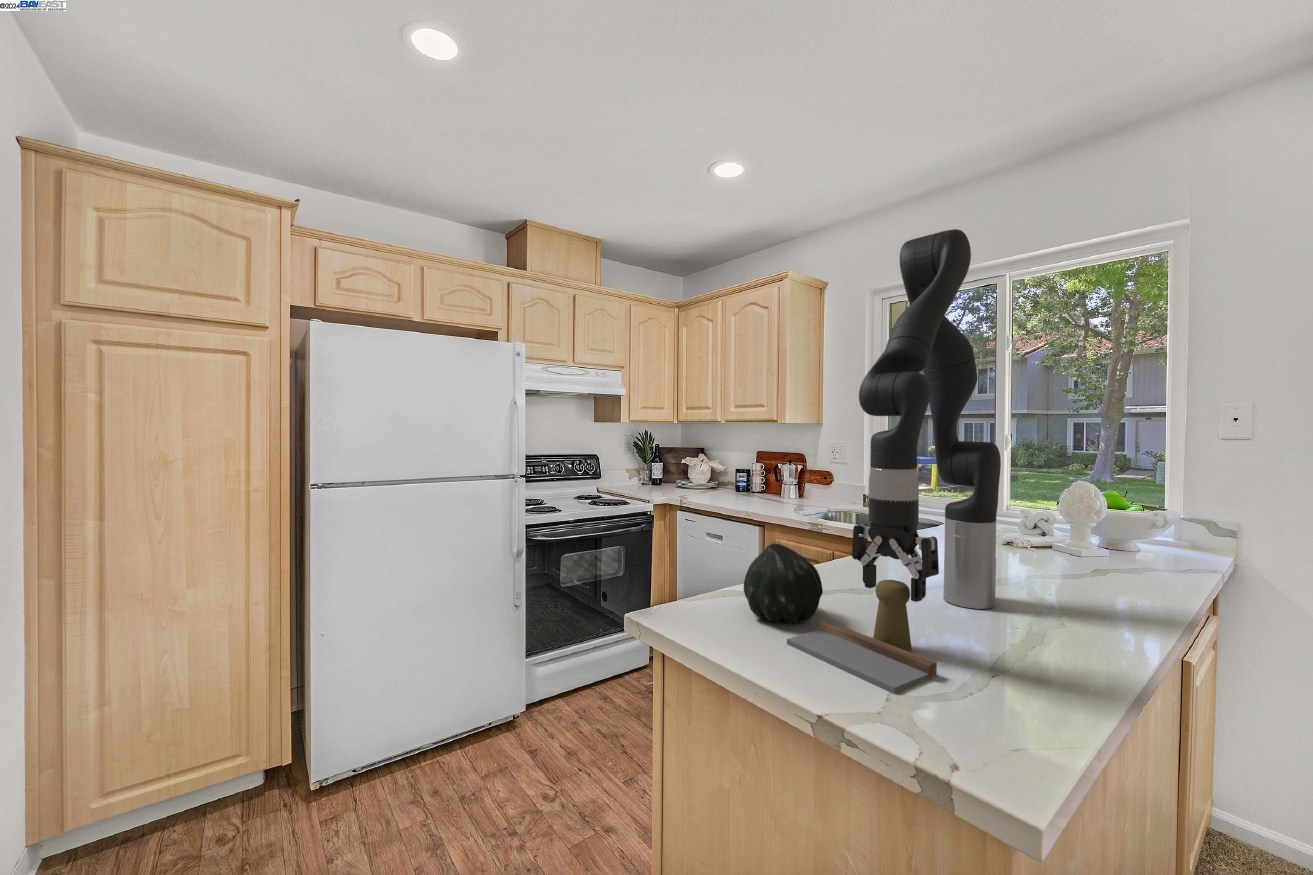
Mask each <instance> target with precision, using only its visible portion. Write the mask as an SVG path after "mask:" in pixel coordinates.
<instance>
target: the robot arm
mask: <svg viewBox="0 0 1313 875" xmlns="http://www.w3.org/2000/svg"><path fill="white" fill-rule="evenodd" d="M971 250H972V249H971V244H970V242H969V239H968V236H967V234H966V233H965V232H964V231H963V230H961V229H955V228H953V229H948V230H943V231H942V230H941V231H938V232H936V233H931V234H928V235H924V236H920V237H916V238H913V239H909V240H906V242H903V244H902V246H901V247H900V250H899V269H900V274H901V279H902V281H903V286H904V290H905V293H906V297H907V301H908V304H909V305H908V307H906V308H905V309H904V310H903V311H902V312H901V313H900V315H899V316H898V318H897V319H896V321H895V322H894V324H893V327H892V329H891V332H890V335H889V337H888V340H887V343H886V346H885V349H884V351H883V352H882V354H881V355H880V356H879V357H878V358H877V360H876V361H875V362H874V364H873V365H872V366H871V368H870V369H869V371H867V373H866V375H865V376H864V378H863V380H862V382H861V385H860V387H859V392H858V401H859V402H858V403H859V405H860V407H861V409H862V410H863V412H865V413H866V414H867V415H869V416H873V417H900V419H899V421H898V422H897V424H896V426H895V427H894V428H891V429H888V430H882V431H881V430H880V431H878V432H875V433H873V434H872V435H871V438H870V460H869V461H870V463H869V464H870V467H869V468H870V470H869V476H868V522H869V523H870V526H868V524H867V523H862V524H857V525H856V524H855V525H853V528H852V529H853V530H852V547H851V548H852V549H851V550H852V551H851V556H852V557H851V558H852V559H853V560H858V562H860V563H861V565H862V582H863V584H864V587H865V588H867V589H872V588H876V585H877V564H875V563H876V562H877V560H878V559H879V558H880V557H885V558H886V557H889V558H891V559H894V560H900V561H901V564H902V565H903V566H904V567H906V568H907V570H908V571H909V574H910V575H911V578H910V601H912V602H915V603H918V602H922V600H924V598H926V595H927V578H931V577H934V576H938V575H939V573H940V568H939V567H940V565H939V564H940V562H939V548H938V547H939V546H938V538H937V537H936V536H930V537H925V536H920V535H919V533H918V525H919V518H920V517H919V516H920V515H919V514H920V513H919V512H920V510H919V509H920V508H919V503H920V501H919V499H920V498H919V496H920V495H919V494H920V488H919V487H920V485H919V484H920V480H919V473H918V444H919V440H920V439H919V438H920V434H921V429H922V426H923V425H922V424H923V422H924V419H925V416H926V413H927V410H928V408H930V413H931V419H932V427H933V441H934V450H935V453H934V454H935V462H936V468H937V472H938V475H939V478H940V479H941V481H942V482H944V483H945V484H947V485H952V486H964V487H974V489H973V492H972V495H971V496H969V497H967V498H965V499H962V500H958V501H952V502H949V503H946V505H945V508H944V548H943V549H944V550H943V551H944V555H943V556H944V557H943V558H944V559H943V560H944V561H943V595H942V596H943V597H942V598H943V600H944V601H945V602H946V603H949V604H951V605H954V606H957V607H963V608H969V609H977V610H983V609H984V610H985V609H986V610H987V609H991V608H994V607H995V603H996V590H997V589H996V588H997V586H996V585H997V584H996V583H997V580H996V578H997V577H996V576H997V557H996V555H997V554H996V553H997V550H996V548H997V513H998V506H999V490H1000V489H999V487H1000V476H1001V469H1002V468H1001V462H1002V461H1001V459H1002V458H1001V453H1000V450H999V448H998V445H997V444H995V443H993V442H990V441H973V440H972V441H971V440H969V441H968V440H967V441H966V440H965V441H964V440H961V441H960V440H959V438H958V432H957V430H958V429H957V428H958V421H959V418H960V416H961V413H962V412H963V410H964V408H965V407H966V405H967V403H969V402H968V401H969V399H971V396H972V394H973V392H974V391H975V389H976V386H977V383H978V371H977V364H976V359H975V352H974V348H973V345H972V344H971V341H969V339H968V338H967V337H966V336H965V335H964V334H963V333H962V332H961V330H960V329H958V328H957V327H956V326H955V325H954V323H952V321H950V320H949V318H947V316H945V315H946V313H948V312H947V311H948V310H949V308H950V306H951V304H952V303H953V302H954V300H955V298H956V296H957V294H958V292H959V290H960V288H961V287H962V284H963V283H964V280H965V279H966V276H967V274H968V272H969V269H970V266H971V259H972V252H971ZM921 372H922V373H921ZM868 538H870V540H871V541H872V543H871V544H870V545H869V546H868ZM917 546H918V550H920V551H921V555H920V553H919V552H918V550H917V548H916V547H917ZM909 556H910V557H909Z"/></svg>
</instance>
